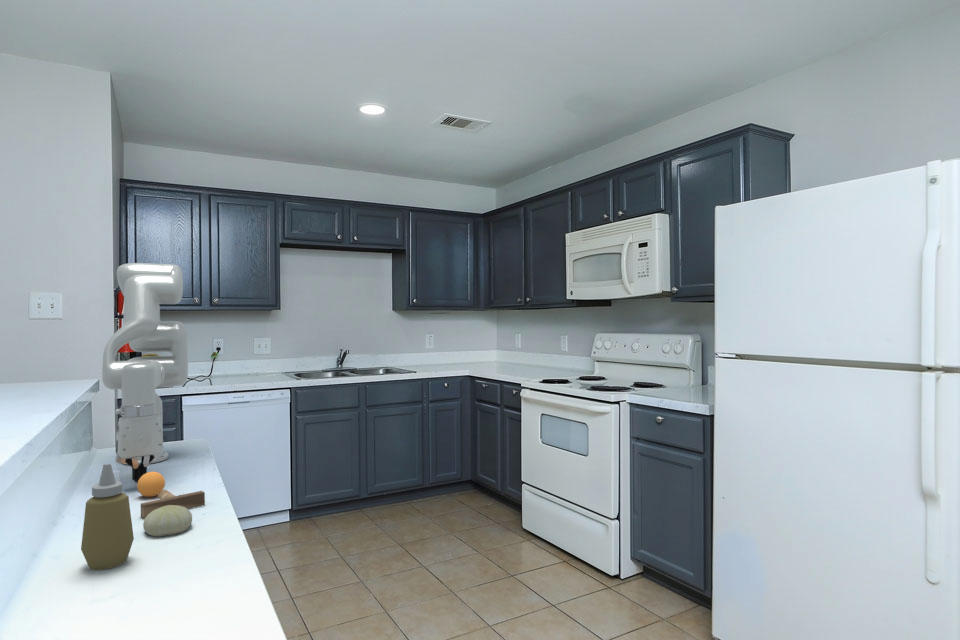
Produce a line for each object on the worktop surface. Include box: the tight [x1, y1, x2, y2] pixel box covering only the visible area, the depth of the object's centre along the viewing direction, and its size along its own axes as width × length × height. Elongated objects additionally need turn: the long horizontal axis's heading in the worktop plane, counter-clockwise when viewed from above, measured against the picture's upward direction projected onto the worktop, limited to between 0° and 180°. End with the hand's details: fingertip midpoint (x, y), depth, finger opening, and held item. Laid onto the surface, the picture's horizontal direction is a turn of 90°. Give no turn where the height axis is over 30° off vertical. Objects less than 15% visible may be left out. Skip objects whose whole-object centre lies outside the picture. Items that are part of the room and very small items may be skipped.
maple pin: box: [157, 489, 176, 500], centre depth 140 cm, size 2×2×8 cm
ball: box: [136, 471, 166, 498], centre depth 146 cm, size 6×6×6 cm
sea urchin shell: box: [142, 505, 193, 538], centre depth 123 cm, size 9×8×8 cm
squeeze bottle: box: [80, 463, 135, 571], centre depth 107 cm, size 8×8×18 cm
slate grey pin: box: [112, 469, 121, 482], centre depth 137 cm, size 2×2×8 cm
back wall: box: [140, 490, 206, 520], centre depth 135 cm, size 2×13×3 cm, turn 135°
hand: (139, 482), depth 153 cm, fingers closed
